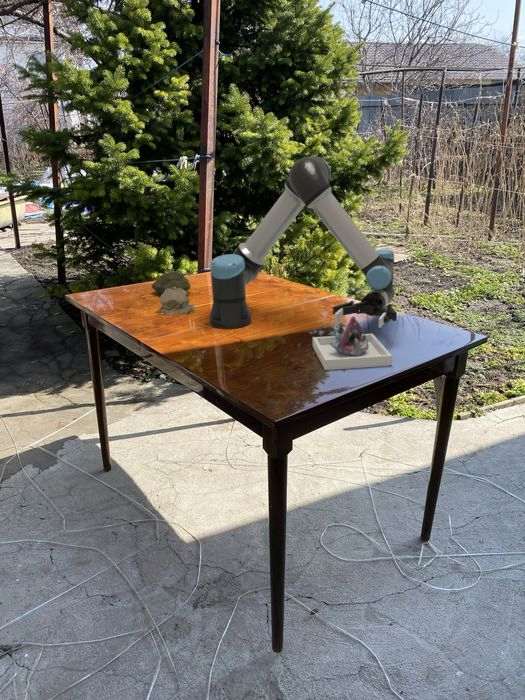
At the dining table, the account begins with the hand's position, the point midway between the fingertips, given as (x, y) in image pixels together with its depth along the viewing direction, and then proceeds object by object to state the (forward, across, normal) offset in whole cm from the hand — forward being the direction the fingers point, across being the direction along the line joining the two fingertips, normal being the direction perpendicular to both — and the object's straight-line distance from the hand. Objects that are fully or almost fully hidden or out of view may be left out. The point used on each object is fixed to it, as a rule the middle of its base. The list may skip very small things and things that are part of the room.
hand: (357, 320), depth 158 cm
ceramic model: (-15, +76, -9) cm, 78 cm away
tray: (+7, 0, -9) cm, 11 cm away
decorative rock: (-37, +93, -9) cm, 101 cm away
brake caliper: (+6, 0, -8) cm, 10 cm away
